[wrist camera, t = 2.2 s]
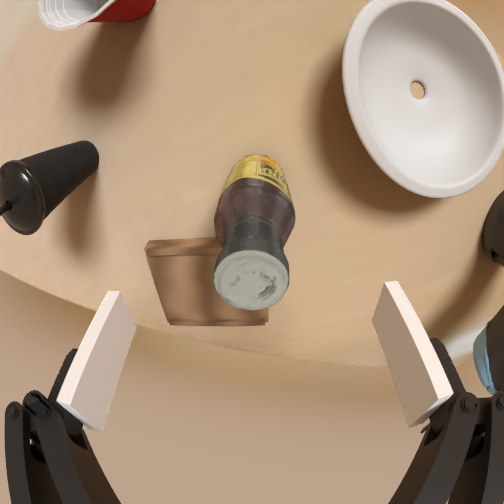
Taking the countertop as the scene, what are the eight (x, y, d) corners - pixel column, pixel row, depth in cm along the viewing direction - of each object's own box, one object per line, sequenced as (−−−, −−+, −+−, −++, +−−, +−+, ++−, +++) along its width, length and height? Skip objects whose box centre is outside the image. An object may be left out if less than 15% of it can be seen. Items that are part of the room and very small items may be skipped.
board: (266, 235, 35) (267, 246, 33) (267, 313, 43) (268, 325, 41) (148, 240, 36) (142, 250, 34) (170, 313, 43) (167, 324, 41)
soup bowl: (486, 160, 27) (514, 176, 22) (356, 200, 32) (375, 224, 27) (452, 6, 15) (481, 1, 10) (292, 14, 20) (301, -4, 15)
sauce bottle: (291, 189, 32) (330, 310, 15) (244, 209, 33) (234, 341, 17) (268, 140, 29) (288, 216, 12) (219, 163, 30) (173, 265, 14)
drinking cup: (114, 178, 31) (11, 271, 14) (72, 189, 31) (-24, 275, 15) (101, 122, 27) (-26, 178, 10) (58, 139, 27) (-55, 202, 11)
